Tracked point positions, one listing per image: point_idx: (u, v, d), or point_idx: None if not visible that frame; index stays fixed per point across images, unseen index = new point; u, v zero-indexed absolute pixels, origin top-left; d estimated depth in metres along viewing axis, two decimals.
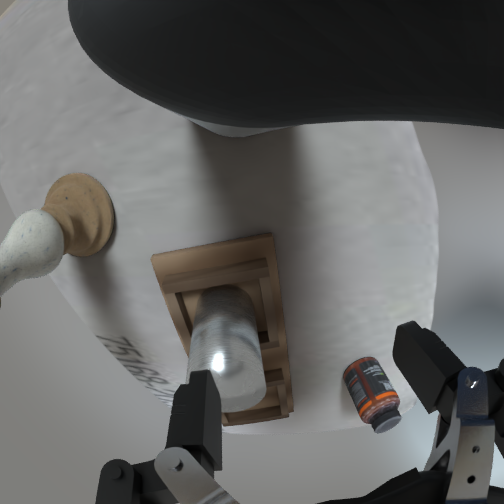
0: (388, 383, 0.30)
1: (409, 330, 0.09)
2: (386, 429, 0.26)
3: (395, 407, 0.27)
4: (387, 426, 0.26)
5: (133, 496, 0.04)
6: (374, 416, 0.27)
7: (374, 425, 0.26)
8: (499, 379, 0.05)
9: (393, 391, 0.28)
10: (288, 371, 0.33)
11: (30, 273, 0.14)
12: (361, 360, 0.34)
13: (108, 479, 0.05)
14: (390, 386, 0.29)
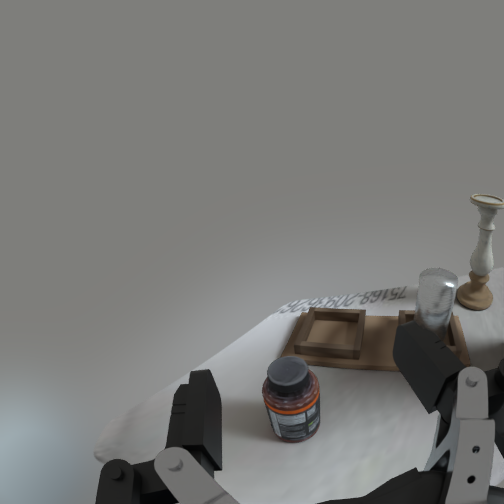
0: (308, 416, 0.23)
1: (409, 330, 0.09)
2: (276, 367, 0.24)
3: (298, 392, 0.23)
4: (285, 368, 0.24)
5: (133, 496, 0.04)
6: None
7: None
8: (499, 379, 0.05)
9: (306, 409, 0.23)
10: (351, 363, 0.35)
11: (479, 250, 0.35)
12: (319, 423, 0.27)
13: (108, 479, 0.05)
14: (307, 413, 0.23)
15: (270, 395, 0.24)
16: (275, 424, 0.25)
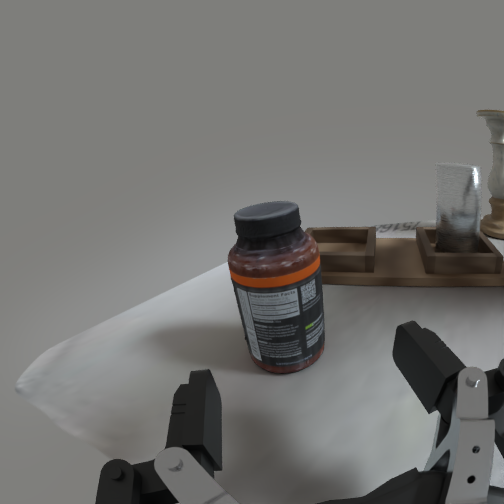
0: (304, 302, 0.16)
1: (409, 330, 0.09)
2: (248, 209, 0.17)
3: (284, 242, 0.15)
4: (261, 208, 0.17)
5: (133, 496, 0.04)
6: None
7: None
8: (499, 379, 0.05)
9: (299, 281, 0.15)
10: (364, 276, 0.27)
11: (496, 168, 0.27)
12: None
13: (108, 479, 0.05)
14: (302, 294, 0.15)
15: (237, 254, 0.16)
16: (250, 328, 0.17)
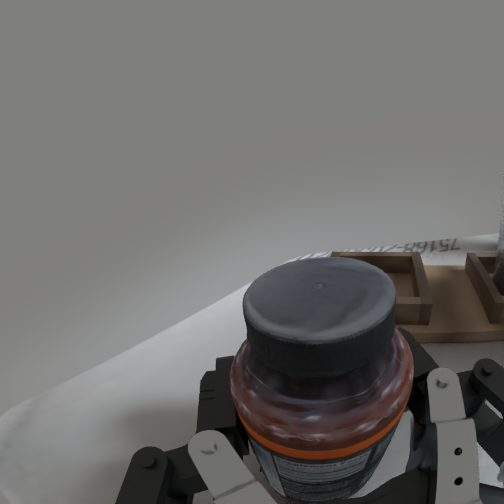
0: (375, 455, 0.06)
1: None
2: (276, 283, 0.07)
3: (364, 378, 0.05)
4: (309, 284, 0.07)
5: (162, 486, 0.05)
6: None
7: None
8: (475, 383, 0.06)
9: (380, 438, 0.05)
10: (418, 331, 0.17)
11: None
12: None
13: (139, 466, 0.05)
14: (376, 450, 0.06)
15: (252, 391, 0.06)
16: (271, 475, 0.08)
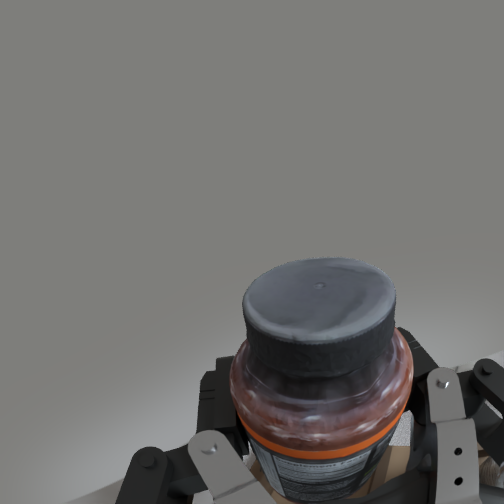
0: (375, 455, 0.06)
1: None
2: (275, 283, 0.07)
3: (364, 378, 0.05)
4: (309, 285, 0.07)
5: (162, 486, 0.05)
6: None
7: None
8: (475, 383, 0.06)
9: (380, 438, 0.05)
10: None
11: None
12: None
13: (139, 466, 0.05)
14: (376, 450, 0.06)
15: (252, 391, 0.06)
16: (270, 475, 0.08)
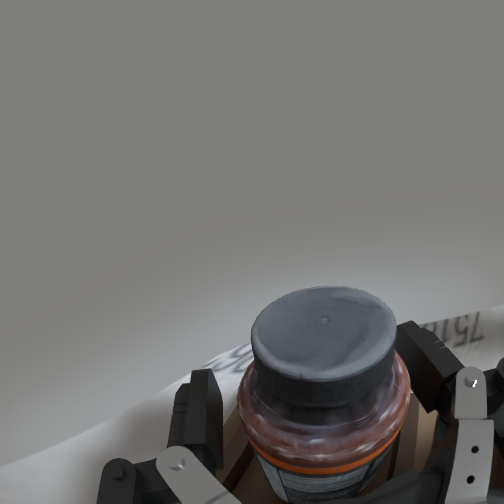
0: (373, 468, 0.06)
1: (408, 330, 0.09)
2: (282, 316, 0.07)
3: (364, 405, 0.06)
4: (314, 318, 0.07)
5: (135, 496, 0.04)
6: None
7: None
8: (498, 379, 0.05)
9: (378, 454, 0.06)
10: None
11: None
12: None
13: (110, 478, 0.05)
14: (374, 463, 0.06)
15: (259, 415, 0.07)
16: (275, 485, 0.08)
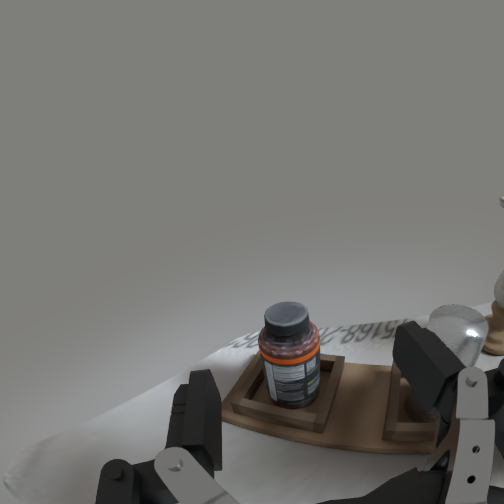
0: (307, 371, 0.23)
1: (409, 330, 0.09)
2: (274, 310, 0.24)
3: (297, 337, 0.23)
4: (283, 311, 0.24)
5: (133, 496, 0.04)
6: None
7: None
8: (499, 379, 0.05)
9: (306, 360, 0.23)
10: (310, 438, 0.21)
11: None
12: None
13: (108, 479, 0.05)
14: (307, 367, 0.23)
15: (266, 342, 0.24)
16: (271, 383, 0.25)
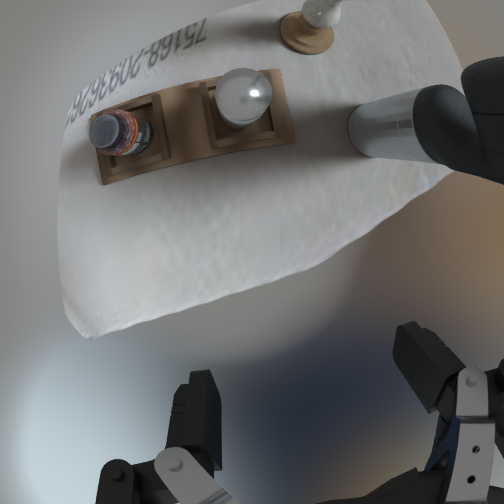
0: (139, 140, 0.30)
1: (409, 330, 0.09)
2: (94, 134, 0.24)
3: (121, 138, 0.26)
4: (101, 131, 0.24)
5: (133, 496, 0.04)
6: (115, 115, 0.25)
7: None
8: (499, 379, 0.05)
9: (134, 141, 0.29)
10: (166, 165, 0.37)
11: (319, 8, 0.22)
12: (151, 127, 0.34)
13: (108, 479, 0.05)
14: (137, 140, 0.29)
15: (104, 150, 0.27)
16: None
